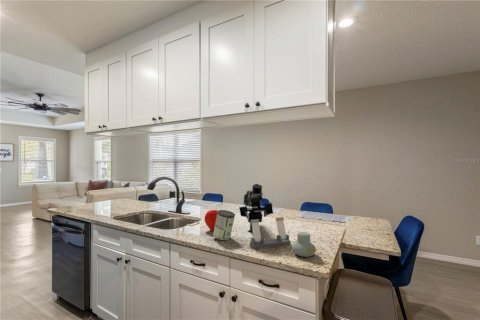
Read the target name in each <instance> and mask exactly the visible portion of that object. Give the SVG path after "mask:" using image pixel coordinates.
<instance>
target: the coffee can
mask: <svg viewBox="0 0 480 320" xmlns="http://www.w3.org/2000/svg"><path fill="white" fill-rule="evenodd" d="M235 216H236V213H234V212H232V211H231V210H227V209H226V210H225V209H220V210H218V212H217V218H216V223H215V228H214V231H213V234H212V236H213V237H214V238H216V239H218V240H220V241H221V240H222V241H227V240H228V239H229V240H231V236H232V230H233V226H234V221H235ZM229 240H228V241H229Z"/></svg>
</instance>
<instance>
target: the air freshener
mask: <svg viewBox="0 0 480 320" xmlns="http://www.w3.org/2000/svg"><path fill="white" fill-rule="evenodd" d="M296 236H297V237H296V238H297V241H295V242H294V243H293V244H292V245H291V250H292V252H293V253H294V254H295V255H296V256H299V257H302V258H310V257H311V256H312V257H313V256H314V255H315V253H316V252H317V248H316V246H315V244H313V243H312V242H311V234H310V233H309V232H305V231H300V232H297V234H296Z"/></svg>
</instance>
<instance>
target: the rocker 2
mask: <svg viewBox="0 0 480 320" xmlns="http://www.w3.org/2000/svg"><path fill="white" fill-rule="evenodd" d="M284 221H285V218H284V217H276V218H275V222H276V225H277V226H276V227H277V232H278V235H279V236H281V239H286V234H287V232H286V228H285V222H284Z"/></svg>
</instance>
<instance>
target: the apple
mask: <svg viewBox="0 0 480 320" xmlns="http://www.w3.org/2000/svg"><path fill="white" fill-rule="evenodd" d="M218 211H219V210H217V209H210V210H207V212H206V213H205V215H204V223H205V225H206V226H207V227H208V229H209V230H211V231H213V232H214V228H215V223H216V218H217V212H218Z"/></svg>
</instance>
